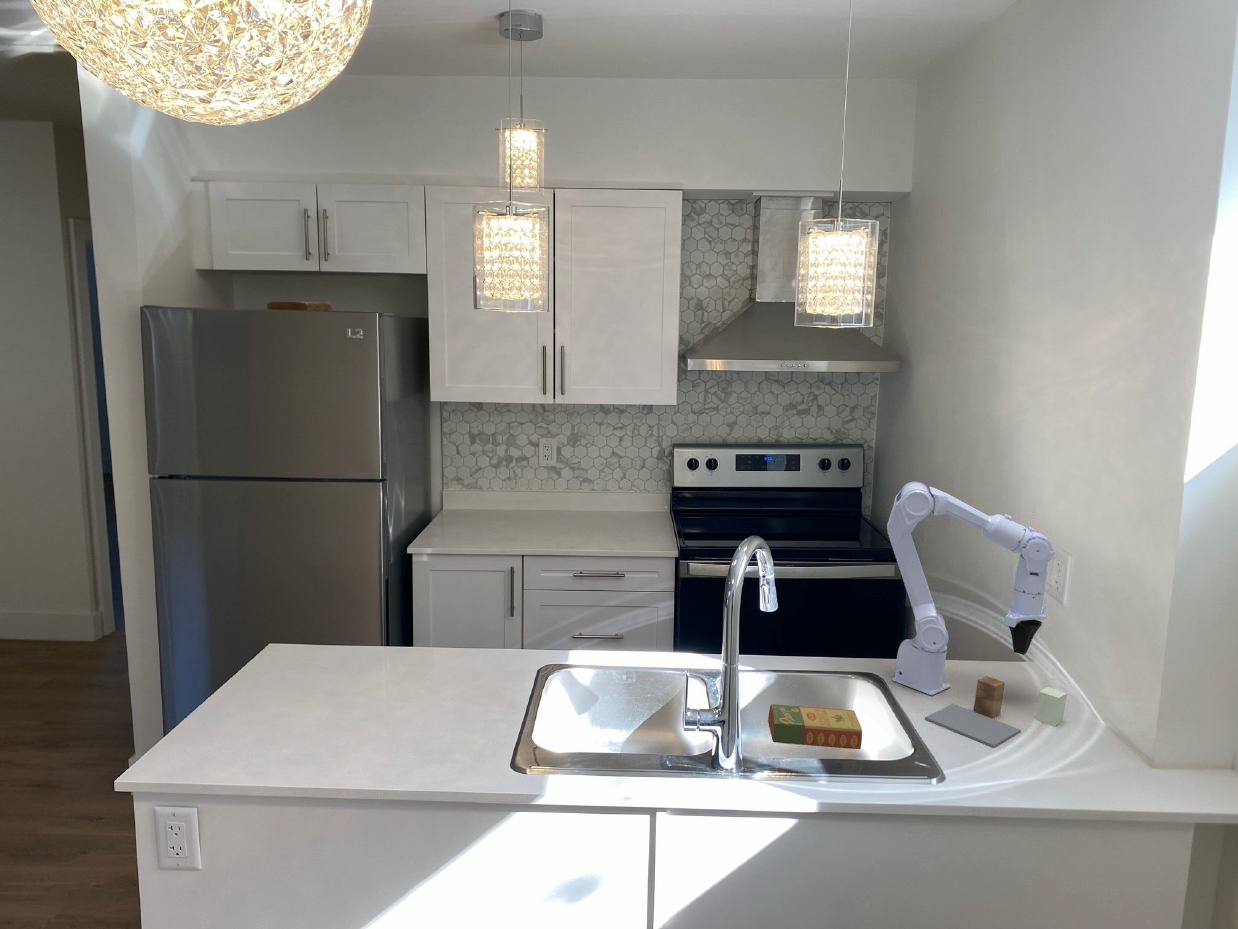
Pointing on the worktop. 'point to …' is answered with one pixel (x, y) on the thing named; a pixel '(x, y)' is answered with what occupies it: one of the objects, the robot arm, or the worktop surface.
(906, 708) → the worktop surface
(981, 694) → the walnut block
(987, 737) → the mat
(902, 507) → the robot arm
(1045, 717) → the sage block
